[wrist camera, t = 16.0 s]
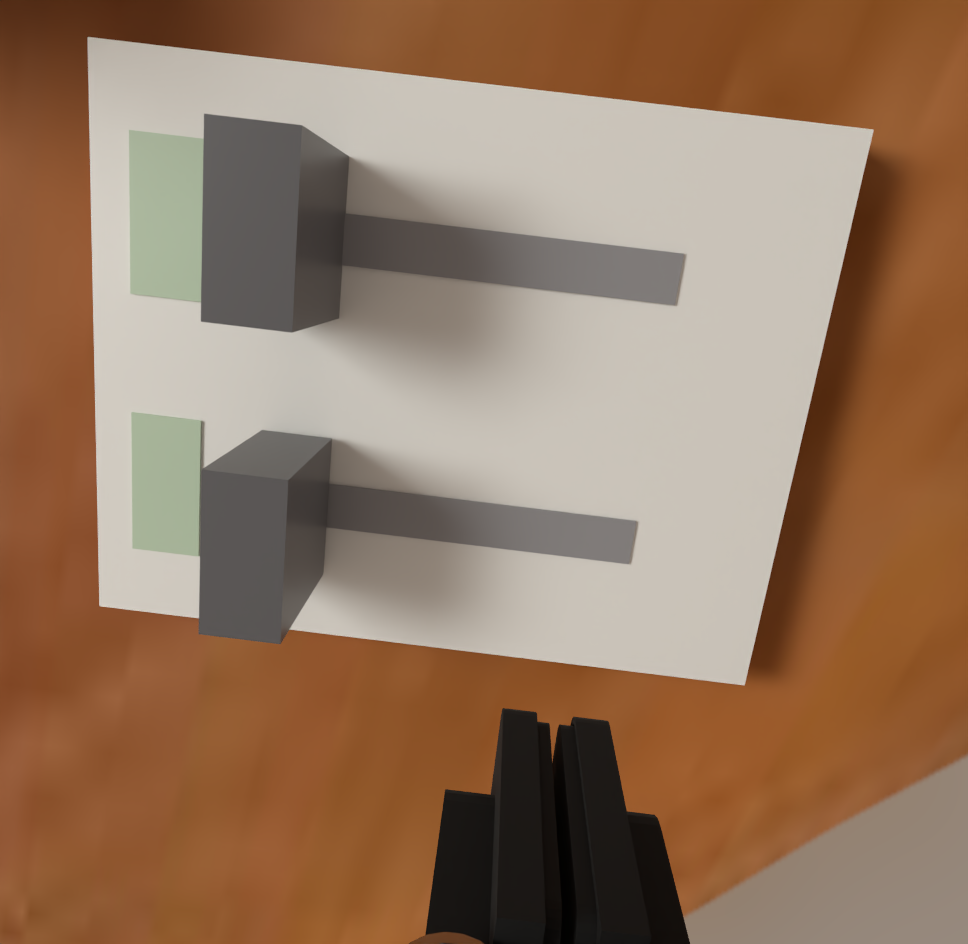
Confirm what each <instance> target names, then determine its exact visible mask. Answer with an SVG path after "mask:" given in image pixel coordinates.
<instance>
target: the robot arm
mask: <svg viewBox="0 0 968 944" xmlns="http://www.w3.org/2000/svg"><path fill="white" fill-rule="evenodd" d="M409 944H690V942H689V938H688V934H687V930H686V926H685V922H684V918H683V914H682V910H681V906H680V902H679V898H678V894H677V890H676V886H675V882H674V878H673V874H672V871H671V867H670V863H669V859H668V855H667V851H666V847H665V843H664V839H663V835H662V831H661V827H660V824H659V821H658V818H657V817H656V816H655V815H651V814H643V813H635V812H627V811H626V806H625V801H624V796H623V791H622V786H621V781H620V776H619V771H618V766H617V761H616V756H615V751H614V745H613V740H612V735H611V730H610V725H609V722H608V721H604V720H596V719H588V718H580V717H573V718H572V721H571V726H567V725H559V727H558V731H557V737H556V743H555V750H554V756H553V763H552V754H551V739H550V726H549V723H542V722H537V713H536V712H530V711H522V710H513V709H505V708H503V709H502V714H501V721H500V729H499V736H498V744H497V751H496V759H495V766H494V774H493V781H492V789H491V795H487V794H479V793H471V792H463V791H455V790H445V796H444V803H443V811H442V818H441V825H440V833H439V840H438V847H437V854H436V862H435V869H434V876H433V884H432V891H431V898H430V906H429V913H428V920H427V928H426V935H425V936H423V937H421V938H418V939H416V940H414V941H412V942H410V943H409Z"/></svg>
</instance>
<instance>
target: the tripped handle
mask: <svg viewBox="0 0 968 944" xmlns="http://www.w3.org/2000/svg"><path fill="white" fill-rule="evenodd" d="M331 447H332V438H325V437H317V436H308V435H300V434H292V433H284V432H275V431H267V430H261V431H260V432H258V433H257V434H255V435H253V436H252V437H250V438H249V439H247V440H246V441H244V442H243V443H241V444H240V445H238V446H237V447H235V448H234V449H232V450H231V451H229V452H227V453H226V454H224V455H223V456H221V457H220V458H218V459H217V460H215V461H214V462H212V463H211V464H209V465H208V466H206V467H205V468H203V469H201V527H200V586H199V634H203V635H211V636H219V637H227V638H235V639H243V640H251V641H260V642H268V643H276V644H281V642H282V641H283V639H284V637H285V636H286V634H287V632H288V631H289V629H290V628H291V626H292V624H293V623H294V621H295V619H296V618H297V616H298V615H299V613H300V611H301V610H302V608H303V606H304V605H305V603H306V602H307V600H308V598H309V597H310V595H311V594H312V592H313V590H314V589H315V587H316V585H317V584H318V582H319V581H320V579H321V577H322V576H323V573H324V558H325V542H326V526H327V510H328V495H329V479H330V463H331Z"/></svg>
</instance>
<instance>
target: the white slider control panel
mask: <svg viewBox="0 0 968 944" xmlns="http://www.w3.org/2000/svg"><path fill="white" fill-rule="evenodd" d="M88 85H89V132H90V179H91V227H92V274H93V321H94V368H95V416H96V463H97V510H98V558H99V605H100V606H103V607H111V608H119V609H127V610H135V611H144V612H152V613H160V614H168V615H176V616H184V617H192V618H199V586H200V527H201V469H203V468H205V467H206V466H208V465H209V464H211V463H212V462H214V461H215V460H217V459H218V458H220V457H221V456H223V455H224V454H226V453H227V452H229V451H231V450H232V449H234V448H235V447H237V446H238V445H240V444H241V443H243V442H244V441H246V440H247V439H249V438H250V437H252V436H253V435H255V434H257V433H258V432H260V431H261V430H267V431H275V432H284V433H292V434H300V435H308V436H317V437H325V438H332V447H331V463H330V479H329V495H328V510H327V526H326V542H325V558H324V573H323V576H322V577H321V579H320V581H319V582H318V584H317V585H316V587H315V589H314V590H313V592H312V594H311V595H310V597H309V598H308V600H307V602H306V603H305V605H304V606H303V608H302V610H301V611H300V613H299V615H298V616H297V618H296V619H295V621H294V623H293V624H292V626H291V628H290V630H298V631H306V632H315V633H323V634H331V635H339V636H347V637H355V638H363V639H372V640H380V641H388V642H396V643H404V644H412V645H420V646H429V647H437V648H445V649H453V650H461V651H469V652H477V653H486V654H494V655H502V656H510V657H518V658H526V659H534V660H543V661H551V662H559V663H567V664H575V665H583V666H591V667H600V668H608V669H616V670H624V671H632V672H640V673H648V674H657V675H665V676H673V677H681V678H689V679H697V680H705V681H714V682H722V683H730V684H738V685H745V682H746V677H747V673H748V669H749V664H750V660H751V656H752V651H753V647H754V643H755V638H756V634H757V630H758V626H759V621H760V617H761V613H762V608H763V604H764V600H765V595H766V591H767V587H768V582H769V578H770V574H771V570H772V565H773V561H774V557H775V552H776V548H777V544H778V539H779V535H780V531H781V526H782V522H783V518H784V514H785V509H786V505H787V501H788V496H789V492H790V488H791V483H792V479H793V475H794V470H795V466H796V462H797V458H798V453H799V449H800V445H801V440H802V436H803V432H804V427H805V423H806V419H807V414H808V410H809V406H810V402H811V397H812V393H813V389H814V384H815V380H816V376H817V371H818V367H819V363H820V358H821V354H822V350H823V346H824V341H825V337H826V333H827V328H828V324H829V320H830V315H831V311H832V307H833V303H834V298H835V294H836V290H837V285H838V281H839V277H840V272H841V268H842V264H843V259H844V255H845V251H846V247H847V242H848V238H849V234H850V229H851V225H852V221H853V216H854V212H855V208H856V203H857V199H858V195H859V191H860V186H861V182H862V178H863V173H864V169H865V165H866V160H867V156H868V152H869V147H870V143H871V139H872V135H873V130H872V129H864V128H855V127H847V126H838V125H830V124H821V123H813V122H804V121H796V120H787V119H779V118H770V117H762V116H753V115H745V114H736V113H728V112H720V111H711V110H703V109H694V108H686V107H677V106H669V105H660V104H652V103H643V102H635V101H626V100H618V99H609V98H601V97H592V96H584V95H576V94H567V93H559V92H550V91H542V90H533V89H525V88H516V87H508V86H499V85H491V84H482V83H474V82H465V81H457V80H448V79H440V78H431V77H423V76H415V75H406V74H398V73H389V72H381V71H372V70H364V69H355V68H347V67H338V66H330V65H321V64H313V63H304V62H296V61H287V60H279V59H271V58H262V57H254V56H245V55H237V54H228V53H220V52H211V51H203V50H194V49H186V48H177V47H169V46H160V45H152V44H143V43H135V42H127V41H118V40H110V39H101V38H93V37H88Z"/></svg>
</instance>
